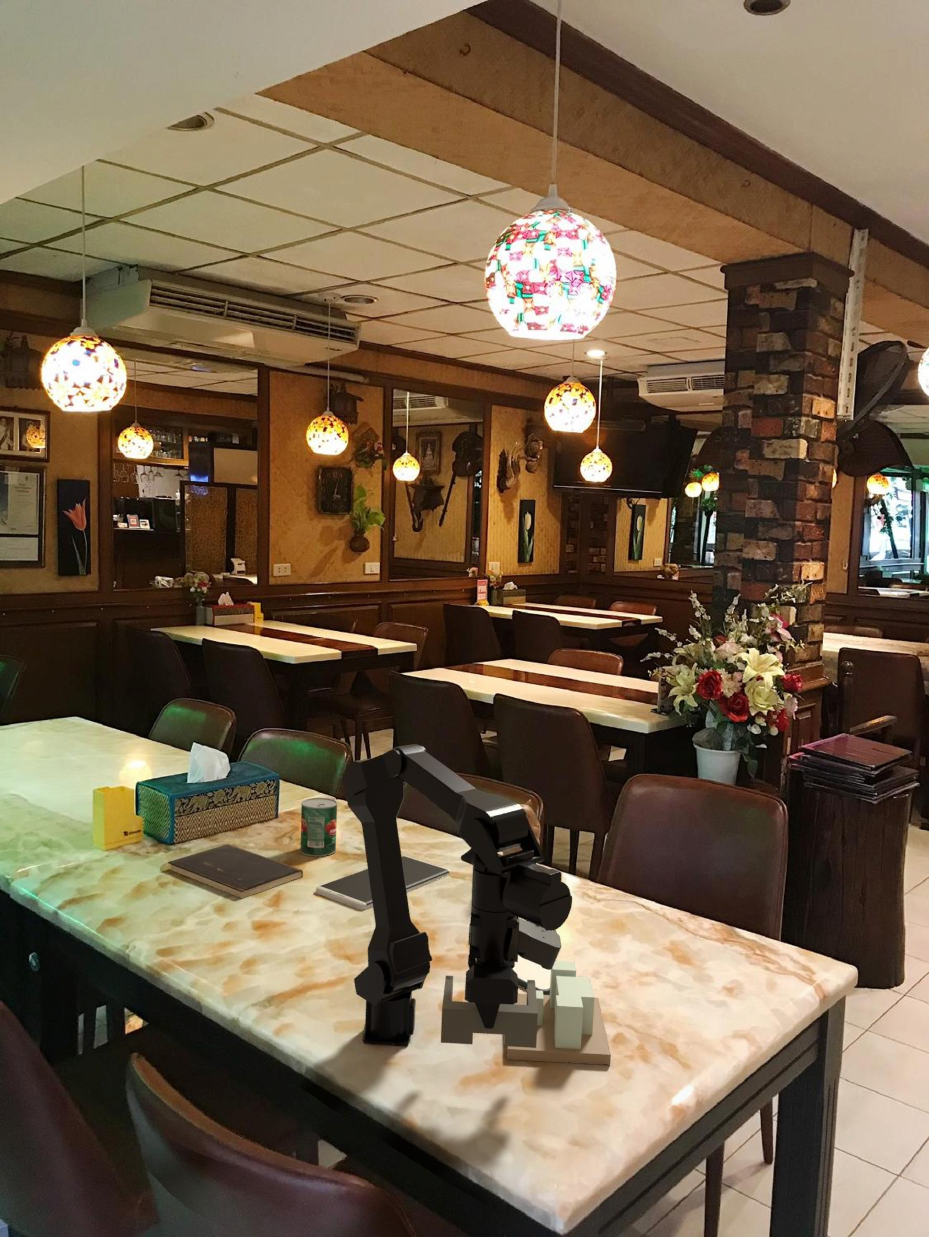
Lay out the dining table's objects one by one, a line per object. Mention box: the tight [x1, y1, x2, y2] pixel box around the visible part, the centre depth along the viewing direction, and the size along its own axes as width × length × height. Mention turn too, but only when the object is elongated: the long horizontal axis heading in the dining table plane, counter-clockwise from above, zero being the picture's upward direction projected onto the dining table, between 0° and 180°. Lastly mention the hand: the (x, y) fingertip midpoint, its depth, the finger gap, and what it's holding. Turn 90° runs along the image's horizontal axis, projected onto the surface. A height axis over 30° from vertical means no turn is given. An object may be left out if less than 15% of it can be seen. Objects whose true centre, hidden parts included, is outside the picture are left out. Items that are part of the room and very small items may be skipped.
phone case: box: [513, 955, 551, 995], centre depth 157 cm, size 9×2×16 cm
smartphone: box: [315, 855, 451, 911], centre depth 194 cm, size 13×27×2 cm, turn 142°
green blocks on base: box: [506, 960, 612, 1066], centre depth 138 cm, size 14×16×8 cm
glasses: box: [440, 975, 538, 1048], centre depth 124 cm, size 9×12×4 cm
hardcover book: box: [167, 843, 304, 899], centre depth 196 cm, size 16×23×2 cm
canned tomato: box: [299, 797, 338, 858], centre depth 211 cm, size 8×8×11 cm
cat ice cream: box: [502, 799, 541, 855], centre depth 193 cm, size 9×8×18 cm
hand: (489, 1023), depth 121 cm, fingers closed on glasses, 2 cm apart
